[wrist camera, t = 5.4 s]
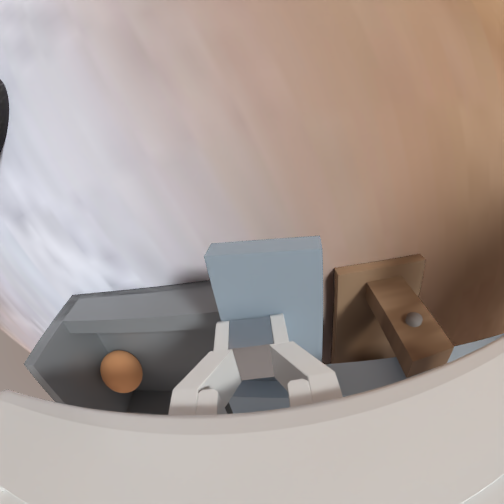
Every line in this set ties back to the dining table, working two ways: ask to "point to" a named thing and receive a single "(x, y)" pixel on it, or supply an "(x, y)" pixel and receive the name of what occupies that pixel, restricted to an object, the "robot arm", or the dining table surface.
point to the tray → (126, 345)
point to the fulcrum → (386, 316)
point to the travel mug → (3, 113)
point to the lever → (290, 312)
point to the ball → (121, 371)
